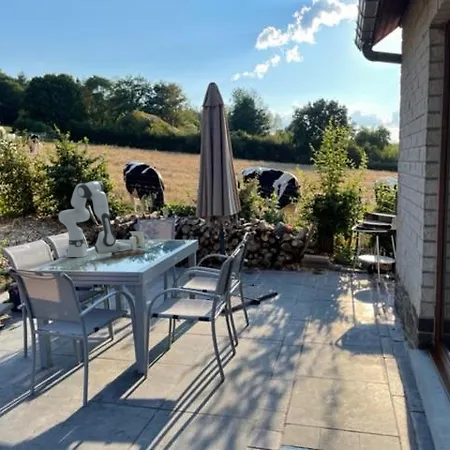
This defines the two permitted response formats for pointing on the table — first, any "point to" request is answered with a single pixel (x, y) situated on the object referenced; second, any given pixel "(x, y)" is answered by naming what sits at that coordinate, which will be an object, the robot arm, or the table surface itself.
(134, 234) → the pitcher
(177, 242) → the table surface
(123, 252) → the fader track
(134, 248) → the fader tab
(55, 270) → the table surface
